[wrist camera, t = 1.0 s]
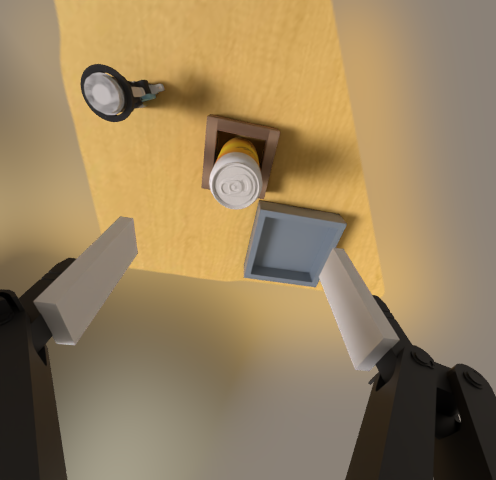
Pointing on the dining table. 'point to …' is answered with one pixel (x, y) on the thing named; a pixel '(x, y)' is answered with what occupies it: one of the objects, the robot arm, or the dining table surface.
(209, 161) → the collar holder
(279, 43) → the dining table surface
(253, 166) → the beer can
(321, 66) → the dining table surface
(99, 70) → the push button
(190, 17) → the dining table surface
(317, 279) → the tray
